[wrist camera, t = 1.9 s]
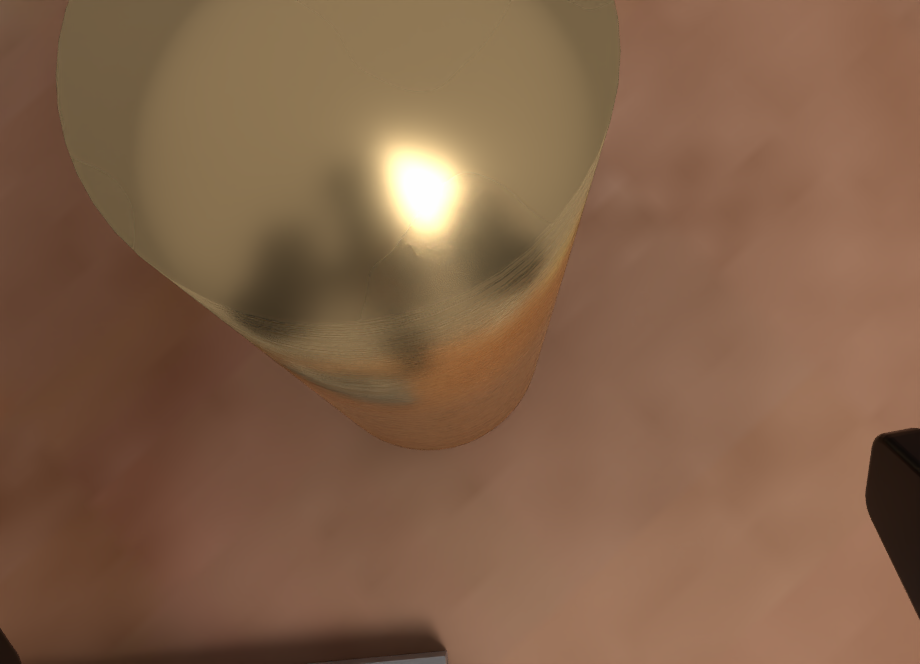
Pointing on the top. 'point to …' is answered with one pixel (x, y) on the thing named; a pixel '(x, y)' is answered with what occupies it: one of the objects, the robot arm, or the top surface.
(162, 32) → the gold cylinder peg
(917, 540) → the robot arm
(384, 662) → the fitting board
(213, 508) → the top surface
